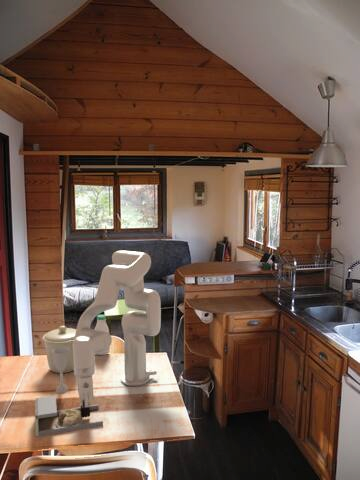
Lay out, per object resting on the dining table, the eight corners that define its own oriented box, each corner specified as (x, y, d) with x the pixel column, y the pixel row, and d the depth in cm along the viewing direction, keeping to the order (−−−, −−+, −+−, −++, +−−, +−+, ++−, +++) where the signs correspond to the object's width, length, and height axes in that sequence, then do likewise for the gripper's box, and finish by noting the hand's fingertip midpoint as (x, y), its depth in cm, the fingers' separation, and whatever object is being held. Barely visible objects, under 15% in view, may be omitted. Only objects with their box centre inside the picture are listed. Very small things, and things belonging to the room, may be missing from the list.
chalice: (65, 395, 181) (63, 353, 179) (50, 393, 183) (48, 352, 180) (73, 387, 189) (71, 347, 186) (58, 385, 190) (57, 346, 188)
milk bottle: (102, 356, 221) (101, 318, 218) (91, 353, 225) (90, 316, 222) (112, 351, 228) (111, 314, 225) (101, 348, 232) (100, 312, 229)
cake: (77, 414, 168) (77, 401, 167) (87, 426, 160) (88, 412, 159) (51, 420, 162) (52, 406, 162) (61, 433, 154) (62, 418, 154)
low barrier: (98, 407, 171) (98, 389, 170) (103, 425, 159) (102, 405, 158) (36, 417, 164) (35, 398, 163) (36, 436, 152) (35, 415, 151)
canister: (42, 379, 196) (40, 334, 193) (45, 362, 214) (43, 321, 211) (83, 374, 200) (82, 330, 198) (83, 359, 218) (81, 318, 215)
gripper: (97, 376, 155) (98, 424, 157) (91, 360, 169) (93, 404, 171) (75, 379, 153) (77, 428, 155) (72, 362, 167) (73, 407, 169)
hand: (85, 415), depth 163 cm, fingers closed
